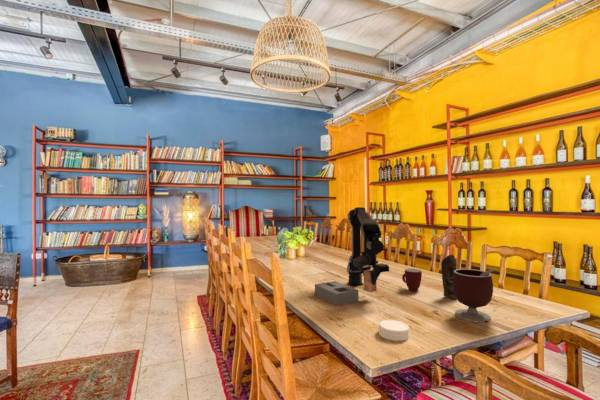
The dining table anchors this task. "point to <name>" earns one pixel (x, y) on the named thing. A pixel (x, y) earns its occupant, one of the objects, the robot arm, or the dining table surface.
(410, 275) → the mug
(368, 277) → the peg
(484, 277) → the mate gourd
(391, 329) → the coaster
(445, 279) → the statue
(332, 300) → the socket board
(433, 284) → the dining table surface
